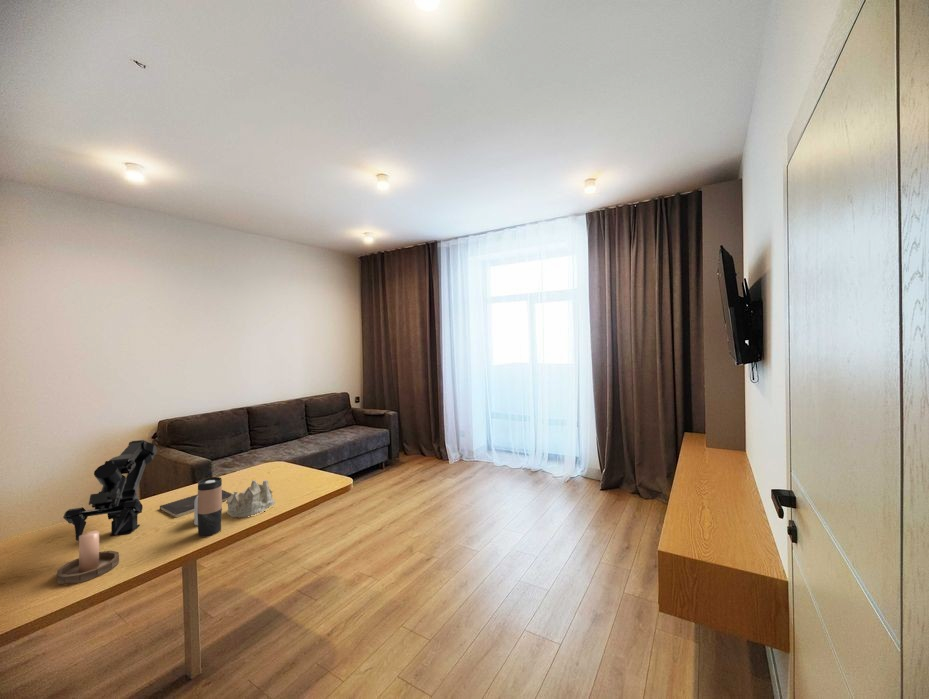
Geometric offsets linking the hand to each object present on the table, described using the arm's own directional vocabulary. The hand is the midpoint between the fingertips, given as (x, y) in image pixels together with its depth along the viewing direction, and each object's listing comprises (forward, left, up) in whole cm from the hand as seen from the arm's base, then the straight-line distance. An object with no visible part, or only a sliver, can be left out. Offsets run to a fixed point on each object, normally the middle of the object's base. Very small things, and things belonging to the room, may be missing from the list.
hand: (96, 537), depth 116 cm
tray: (-1, +4, -8) cm, 10 cm away
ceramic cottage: (-37, -30, -9) cm, 49 cm away
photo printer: (-22, -25, -9) cm, 34 cm away
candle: (-1, +4, -8) cm, 9 cm away
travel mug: (-28, -13, -9) cm, 32 cm away
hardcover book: (-12, -43, -9) cm, 46 cm away
